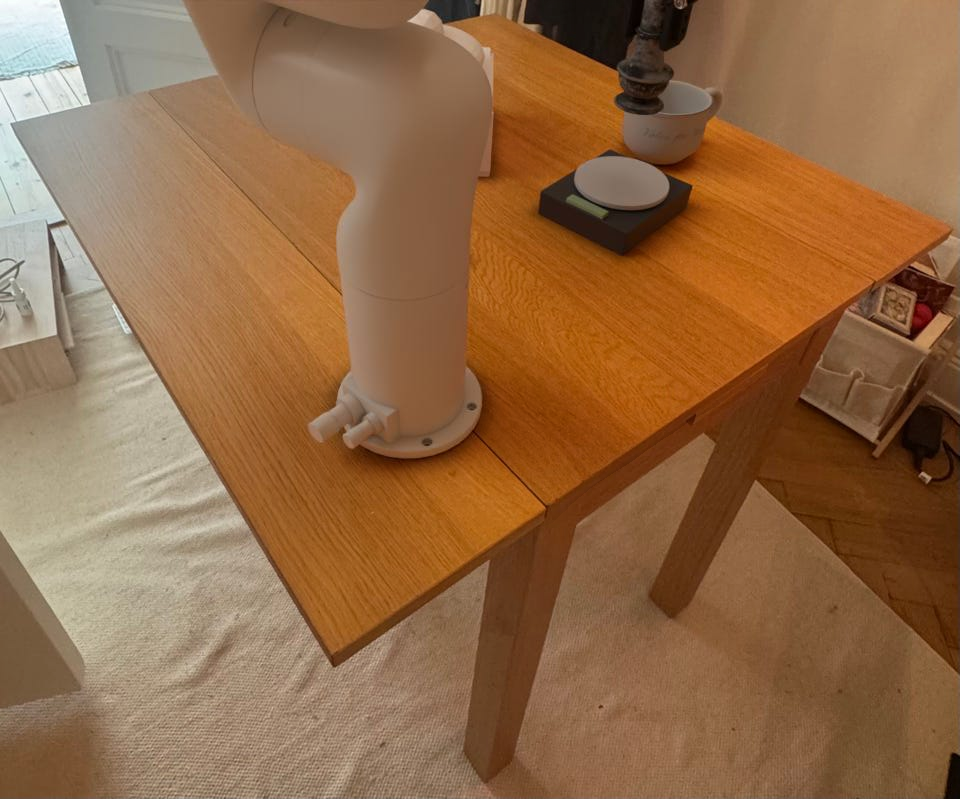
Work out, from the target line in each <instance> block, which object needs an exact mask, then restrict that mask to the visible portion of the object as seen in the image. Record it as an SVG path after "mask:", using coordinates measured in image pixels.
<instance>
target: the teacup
mask: <svg viewBox="0 0 960 799" xmlns="http://www.w3.org/2000/svg"><path fill="white" fill-rule="evenodd" d="M657 97H658V98H660V99H661V100H662V101H663V104H664V107H663V109H662V111H660V112H659V113H656V114H652V115H637V114H631V113H628V112H625V111H623V117H622V118H623V119H622V127H621V128H622V133H621V134H622V140H623V143H624V144H625V146H626V147H627V148H628V150H630V151H631V152H632V154H633V155H634V156H635V157H636V158H637V159H638V160H640V161H643V162H645V163H648V164H651V165H671V164H677V163H679V162H681V161H683V160H684V159H686V158H688V157H689V156H692V155H693V154H694V153H695V152H697V150H698V148H700V145H701V143H702V140H703V138H704V135H705V131H706V127H707V124H708V122H709V121H710V120H712V119H713V118H714V117H715V115H716V114H717V113H718V111H719V110H720V108H721V106H722V103H723V94H722V92H721V91H720V89H718V88H716V87H714V86H709V87H706V88H704V89H703V88H702V87H699V86H698V85H695V84H692V83H688V82H685V81H681V80H672V79H671V80H669V84H668V86H667V87H666V89H665V90H664V91H663V93H661V94H660V95H658V96H657Z"/></svg>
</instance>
